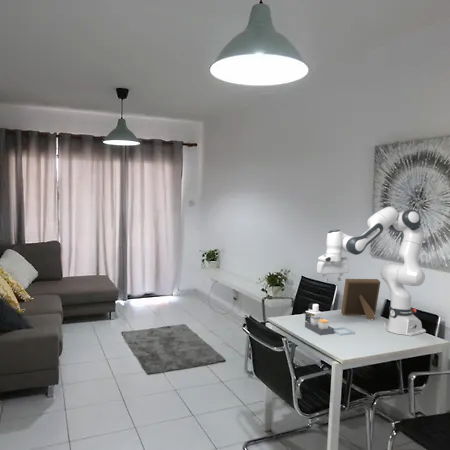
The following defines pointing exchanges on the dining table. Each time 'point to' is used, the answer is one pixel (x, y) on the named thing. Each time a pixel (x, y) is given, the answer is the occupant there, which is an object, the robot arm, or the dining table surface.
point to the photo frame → (360, 297)
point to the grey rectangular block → (315, 320)
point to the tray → (343, 333)
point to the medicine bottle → (312, 311)
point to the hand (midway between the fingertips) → (332, 281)
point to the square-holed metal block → (319, 329)
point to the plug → (323, 323)
